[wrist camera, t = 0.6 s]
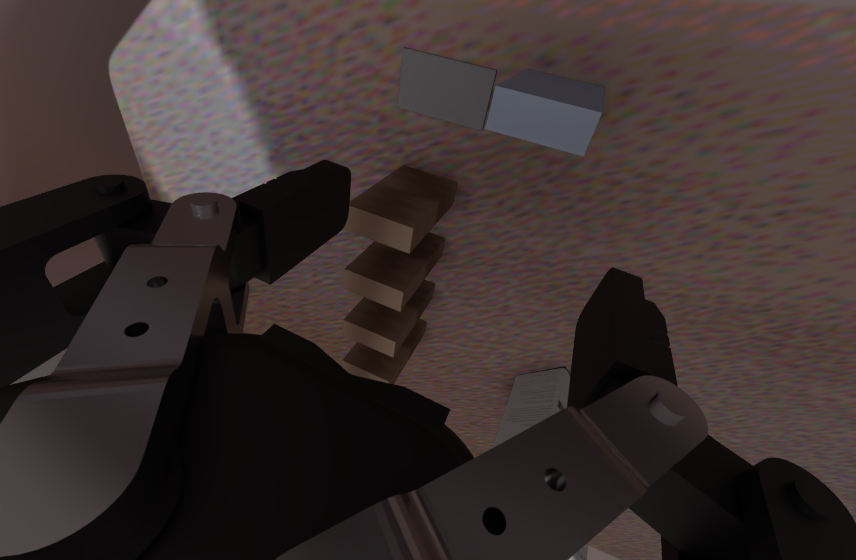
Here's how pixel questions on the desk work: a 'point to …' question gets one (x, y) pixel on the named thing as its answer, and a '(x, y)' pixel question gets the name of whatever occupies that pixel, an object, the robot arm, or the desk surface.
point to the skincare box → (535, 408)
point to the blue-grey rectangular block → (547, 110)
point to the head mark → (445, 88)
